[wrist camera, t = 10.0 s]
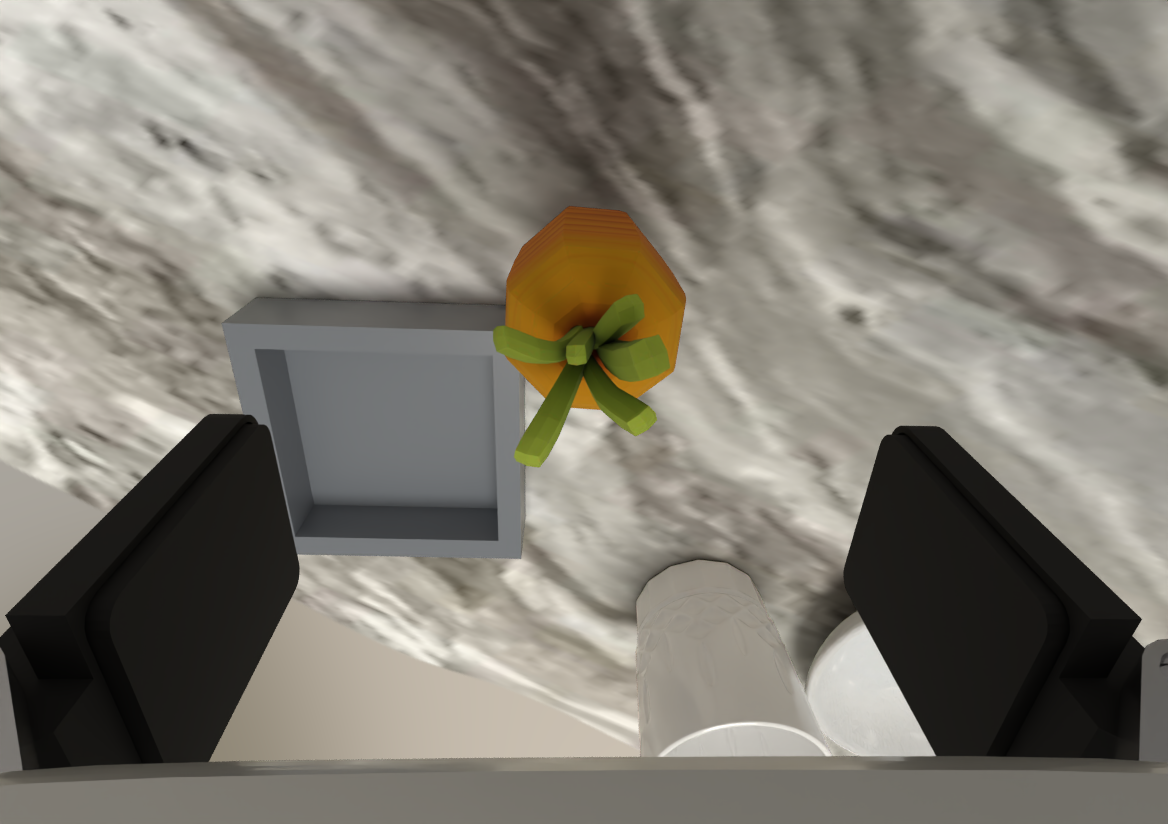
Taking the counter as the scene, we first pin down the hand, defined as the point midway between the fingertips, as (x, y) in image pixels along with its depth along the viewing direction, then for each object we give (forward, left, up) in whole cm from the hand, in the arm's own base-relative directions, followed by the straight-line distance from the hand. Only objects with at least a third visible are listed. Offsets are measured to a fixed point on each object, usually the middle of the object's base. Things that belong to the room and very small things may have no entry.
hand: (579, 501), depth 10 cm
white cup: (-7, +20, -18) cm, 28 cm away
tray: (+8, +8, -18) cm, 21 cm away
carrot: (0, 0, -18) cm, 18 cm away
